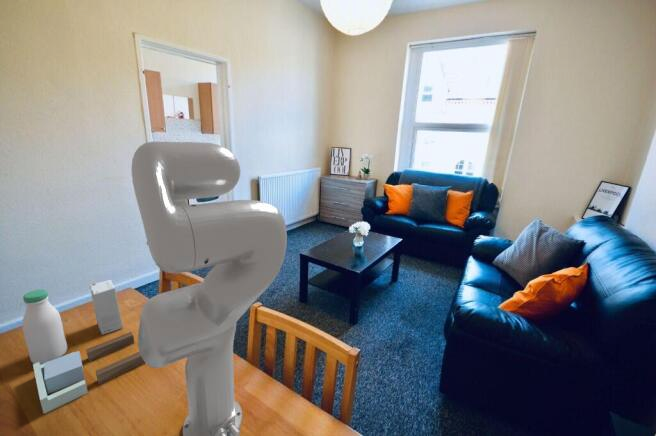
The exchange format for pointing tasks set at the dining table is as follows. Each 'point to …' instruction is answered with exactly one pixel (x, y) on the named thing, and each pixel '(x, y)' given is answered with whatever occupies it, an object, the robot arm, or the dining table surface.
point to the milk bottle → (42, 328)
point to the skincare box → (106, 306)
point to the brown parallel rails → (119, 366)
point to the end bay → (58, 397)
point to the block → (63, 371)
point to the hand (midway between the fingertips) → (172, 262)
